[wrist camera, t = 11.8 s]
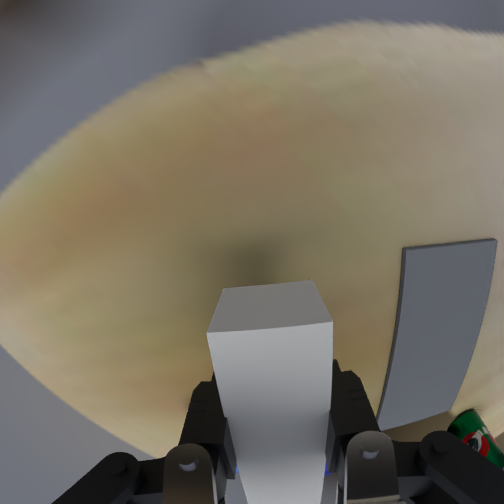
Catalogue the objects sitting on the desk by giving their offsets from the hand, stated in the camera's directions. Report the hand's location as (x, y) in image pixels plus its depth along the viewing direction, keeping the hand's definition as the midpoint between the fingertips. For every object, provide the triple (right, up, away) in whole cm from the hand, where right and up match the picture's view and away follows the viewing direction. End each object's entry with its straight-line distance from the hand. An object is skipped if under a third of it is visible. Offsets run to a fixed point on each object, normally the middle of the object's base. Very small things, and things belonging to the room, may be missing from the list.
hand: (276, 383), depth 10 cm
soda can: (+26, -17, +16) cm, 35 cm away
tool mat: (+16, -4, +12) cm, 20 cm away
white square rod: (+1, -4, +1) cm, 4 cm away
